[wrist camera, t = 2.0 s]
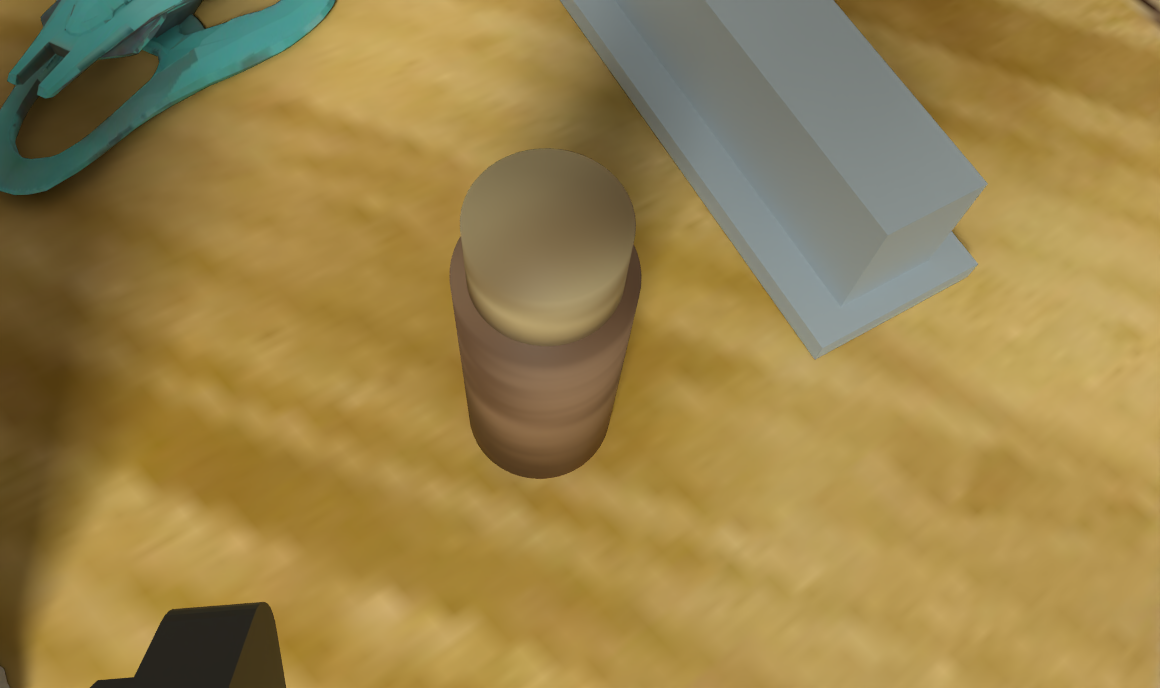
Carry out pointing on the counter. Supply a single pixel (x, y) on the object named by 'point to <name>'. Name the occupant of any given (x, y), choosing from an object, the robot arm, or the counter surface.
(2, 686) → the grey moai statue
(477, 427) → the pepper mill
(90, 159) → the toy spaceship
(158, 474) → the counter surface
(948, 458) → the counter surface
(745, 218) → the rail
